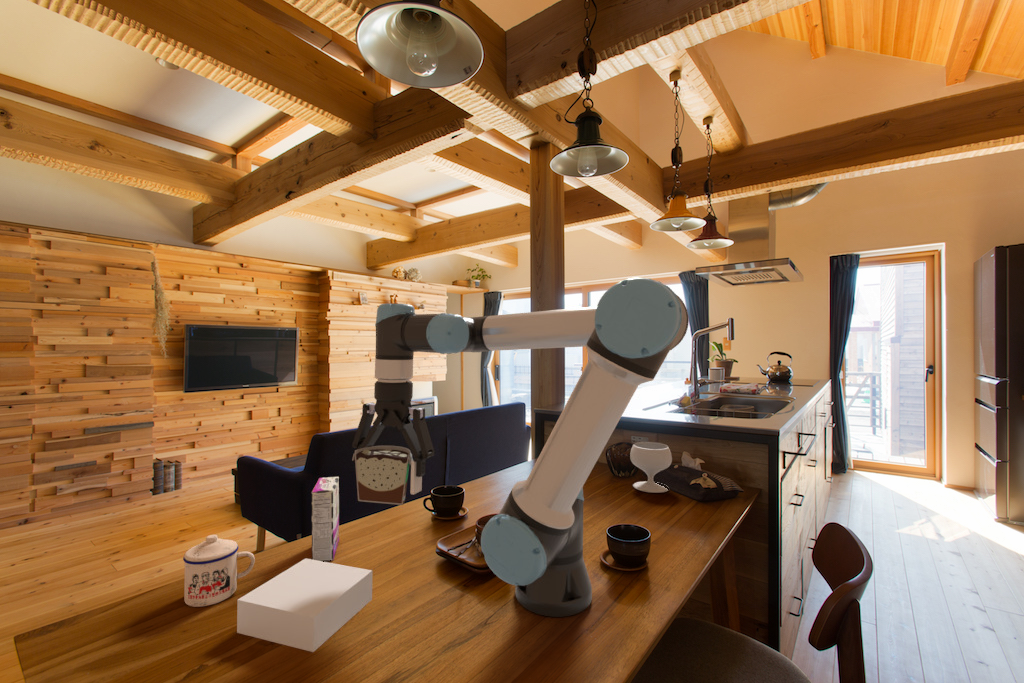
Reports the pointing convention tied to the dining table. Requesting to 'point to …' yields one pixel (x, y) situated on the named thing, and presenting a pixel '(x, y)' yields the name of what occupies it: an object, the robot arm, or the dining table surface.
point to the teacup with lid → (212, 571)
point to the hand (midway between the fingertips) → (391, 487)
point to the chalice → (650, 463)
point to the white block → (304, 603)
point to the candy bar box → (325, 518)
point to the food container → (382, 473)
